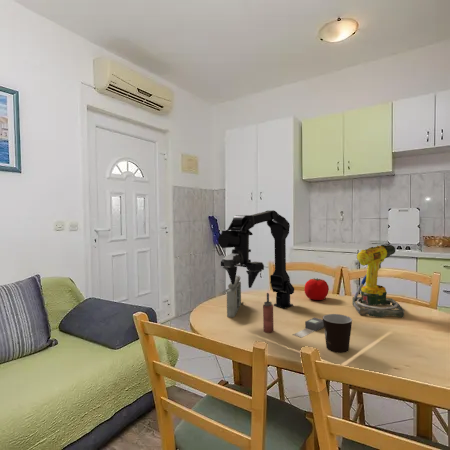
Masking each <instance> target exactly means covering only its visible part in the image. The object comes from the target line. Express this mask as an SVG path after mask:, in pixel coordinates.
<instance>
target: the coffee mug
mask: <svg viewBox="0 0 450 450" xmlns="http://www.w3.org/2000/svg"><path fill="white" fill-rule="evenodd" d="M322 320H323V324H324V327H323V330H324V339H325V345H326V349H327V351H330V352H333V353H337V354H343V353H348V352H349V349H350V343H351V341H350V340H351V335H352V334H351V333H352V325H353V319H352V318H351V317H350V316H347V315H344V314H338V313H329V314H324V315H323V316H322Z"/></svg>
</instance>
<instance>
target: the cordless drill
mask: <svg viewBox="0 0 450 450" xmlns="http://www.w3.org/2000/svg"><path fill="white" fill-rule="evenodd" d="M395 253H396V247H395V246H394V245H392V244H387V245H385V244H381V245H376V246H371V247H369V248H367V249H361V250H360V251H359V252H358V253H357V255H356V258H357V261H358V262H359V264H360V265H361V266H367V269H366V274H365V275H364V276H363V279H362V281H361V283H360V285H359V286H358V288H357V289H356V292H355V293H354V295H353V297H352V300H351V301H352V307H354V308H355V310H356V312H358V314H359V315H362V316H363V315H364V316H365V315H369V317H375V318H385V317H387V316H390V317H392V316H393V317H397V318H402V317H403V318H404V315H405V310H404V308H403V306H402V305H400V304H399V303H398V302H397V301H396V300H395V299H393V298H389V297H387V289H386V287H385V286H383V285H380V284H378V278H379V277H378V273H379V270H380V269H381V268H382V267H381V265H382V263H383V262H385V259H386V258H389V257H390V256H392V255H394V254H395ZM359 294H360V295H361V296H359ZM379 305H382V306H379ZM392 305H393V306H392Z"/></svg>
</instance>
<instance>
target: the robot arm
mask: <svg viewBox="0 0 450 450" xmlns="http://www.w3.org/2000/svg"><path fill="white" fill-rule="evenodd" d="M265 222H266V225H267V226H268V227H269V228H270V235H271V236H272V238H273V240H274V272H273V273H272V274H270V276H269V279H270V282H269V284H270V287H271V288H272V289H271V290H272V292H273V293H275V294H276V296H275V303H274V304H273V307H274V306H275V307H277V308H282V309H287V308H290V307H293V306H294V304H293V303H291V295H293V294H294V293H295V287H294V286H293V284H292V283H291V280H290V276H289V273H288V272H287V266H286V265H287V261H286V260H287V257H286V256H287V255H286V254H287V253H286V252H287V248H286V245H287V244H286V239H287V238H288V236H289V234H290V227H291V226H290V224H291V223H290V222H289V221H288V220H287V219H286V217H284V216H282V215H281V214H279V213H278V212H277V211H276V210H266V211H262V212H258V213H255V214H251V215H249V214H248V215H247V214H244V215H243V214H242V215H234V216H233V217H232V220H231V223H230V224H229V226H228V227H227V229H222V230H221V233H220V234H219V236H218V239H217V242H218V246H219V247H220V248H222V249H229V248H233V249H232V250H231V253H229V254H227V255H226V256H224V257H223V258H222V259H221V261H220V267H222V269H224V270H225V271H226V272H227V274H228V276H229V280H230V283H232V284H234V283H235V278H236V275H237V271H238V267H243V268H246V269H247V270H246V274H247V278H248V280H247V284H248V285H247V286H248V288H249V289H251V288H253V287H252V286H253V284H254V282H255V280H256V278H257V277H258V275H259V273H260V272H262V271H264V270H265V264H264V263H263V262H262V261H252V259H250V253H252V249H250V247H249V246H250V236H253V232H252V231H251V229H253V228H254V227H255V225H257V224H261V223H262V224H263V223H265Z"/></svg>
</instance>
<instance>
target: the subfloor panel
mask: <svg viewBox="0 0 450 450" xmlns="http://www.w3.org/2000/svg"><path fill="white" fill-rule="evenodd" d="M314 332H315V331H314V330H310V329H307V328H304V329H301V330H299V331H297V332H295V333H293V334H292V336H295V337H297V338H301V339H302V338H304V337H306V336H308V335H309V334H312V333H314Z"/></svg>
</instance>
